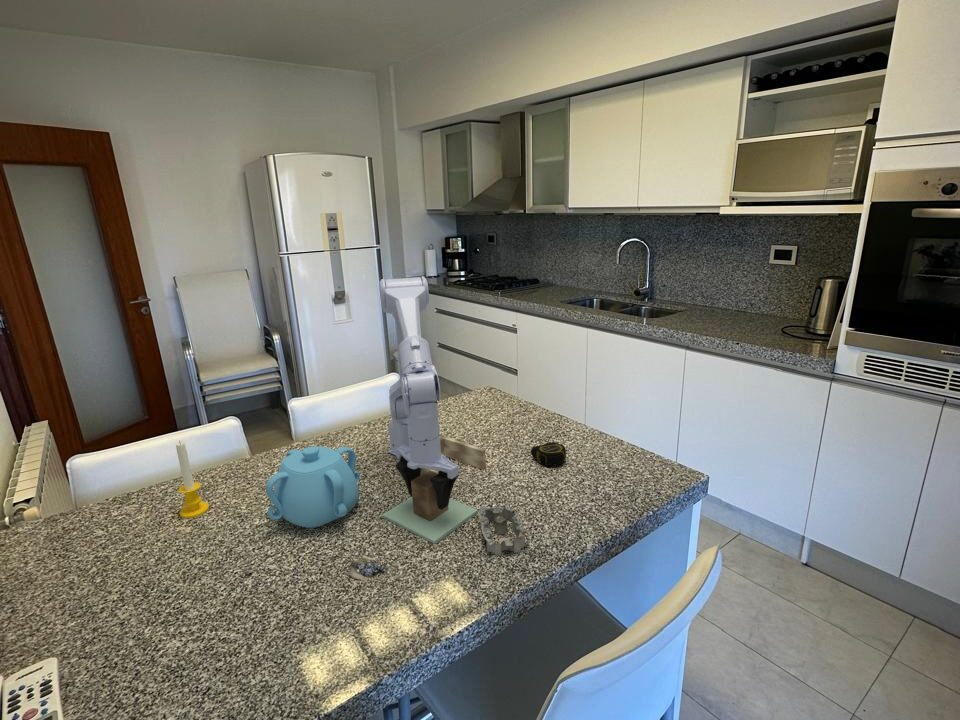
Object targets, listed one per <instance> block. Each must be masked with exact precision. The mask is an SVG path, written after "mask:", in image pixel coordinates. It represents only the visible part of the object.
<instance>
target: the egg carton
mask: <svg viewBox="0 0 960 720" xmlns="http://www.w3.org/2000/svg"><path fill="white" fill-rule="evenodd" d="M479 520H480V526H481V532H482V535H483V538H484V539H483V540H484V541H486V550H487V552H490V553H494V554H495V555H496V556H498V555H502V552H503V551H506V550H507V551H508V550H510V551H512V552H513V553H515V554H516V553H520V552H521V549H523V548H524V547H525V545H526V539H525V536H526V532H525V531H526V530H525V528H524V525H523V522H522V519H521V516H520V515H519V514H518V513H517V512H516V508H514V507H513V506H510V508H506V507H505V506H502V507H499V506H495V507H493V506H490V507H489V508H488V507H482V506H480V507H479ZM507 520H509V521H510V522H511V527H512V528H511V529H512V531H513V532H515V537H514V538H513V540H511V539H509V538H508V537H501V538H499V539H498V541H497V542H496V541H495V540H494V539H493V533H492V530H491V528H490V522H491V523H493V524H494V533H495V534H497V535H505V534H506V533H507V532H508V525H507V524H508V523H507V522H508V521H507Z"/></svg>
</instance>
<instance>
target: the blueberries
mask: <svg viewBox="0 0 960 720" xmlns="http://www.w3.org/2000/svg"><path fill="white" fill-rule="evenodd" d="M380 560H381V561H382V560H384V558H381V559H380V558H379V556H378V555H376V557H375V556H373V555H369V554H367V555H362V556H361V557H359V558H358V559H356V560H353V561H351V565H349V569H350V570H349V571H347V572H346V574H347V576H350V577H351V578H352V579H356V580H360V582H364V581H368V580H369V579H371V578H374V577H377V576H378V575H383V574H384V573H386V572H387V571H388V569H389V568H388V567H387V566H382V564H381V563H380V562H378V563H376V561H380Z"/></svg>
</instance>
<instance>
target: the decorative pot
mask: <svg viewBox="0 0 960 720" xmlns="http://www.w3.org/2000/svg"><path fill="white" fill-rule="evenodd" d="M345 453H348V462H346V460H345V458H344V457H343V454H345ZM356 462H357V455H356V452H355V450H354V449H352V448H351V447H349V446H341V447H339V448H337V449H336V450H335V449H333V448H329V447H326V446H318V445H317V446H307V447H305V448H303V449H301V450H299V449H297V448H294V449H290V450H289V451H288V452H286V454H285V457H284V459H282V460H281V463H280V465H279V468H278V469H277V470H278V471H277V472H276V473H275V474H273V475H271V476H270V477H269V479H267V482H266V485H265V492H266V495H267V496H268V499H269V500H270V502H272V504H273V505H271V506H270V507H269V508H268V510H267V517H268V518H269V519H270V520H272V521H273V520H274V521H277V520H280V519H282V518H284V519H285V520H286V521H288V522H289V523H291V524H293V525H296V526H299V527H302V528H306V529H309V530H312V529H315V528H318V527H320V526H323V525H326V524H329V523H330V522H333V521H335V520H337V519H339V518H342V517H345V516H346V515H347V514H348V513H350V512H351V511H352V509H353V508H354V507H355V505H356V503H357V502H358V499H359V496H360V490H359V486H358V485H359V484H358V482H359V481H360V478H361V477H360V476H361V475H360V472H359V471H358V470H356V469H355V468H356V467H355V466H356ZM274 511H276V512H275V513H274Z"/></svg>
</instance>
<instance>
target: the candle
mask: <svg viewBox="0 0 960 720" xmlns="http://www.w3.org/2000/svg"><path fill="white" fill-rule="evenodd" d="M175 449H176V454H177V458H178V464H179V466H180V467H179V468H180V472H181V477H182V482H183V485H182V486H180V487H179V488H178V492H179V493H181V494H184V497H185V500H184V501H183V505H184V507H183V508H182V509H181V510H179V515H180V517H181V518H183V519H192V518H196V517H200V516H202V515H204V514H205V513H206V512H208V511H209V509H210V505H209V503H208V502H206V501H203V499H202V497H201V496H199V494H198V491H197V490H198V489H199V488H200V487H201V485H202V484H201V483H200V482H194V478H193V473H192V468H191V465H190V461H189V455H188V451H187V447H186V443H185V442H184V441H182V440H179V441H177V442H176V443H175Z"/></svg>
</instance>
